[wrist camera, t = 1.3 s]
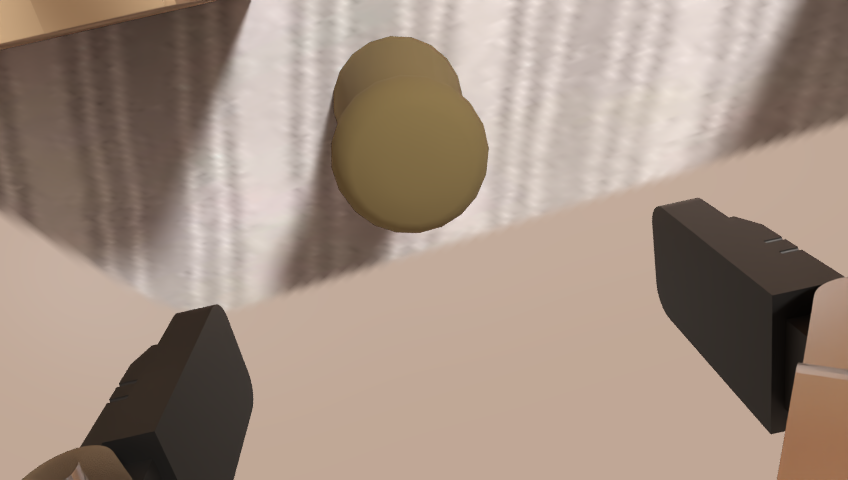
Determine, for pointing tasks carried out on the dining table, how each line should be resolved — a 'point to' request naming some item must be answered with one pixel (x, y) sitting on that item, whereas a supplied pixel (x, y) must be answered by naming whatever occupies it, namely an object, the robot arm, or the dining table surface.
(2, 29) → the walnut box
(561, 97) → the dining table surface
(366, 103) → the olive pawn
